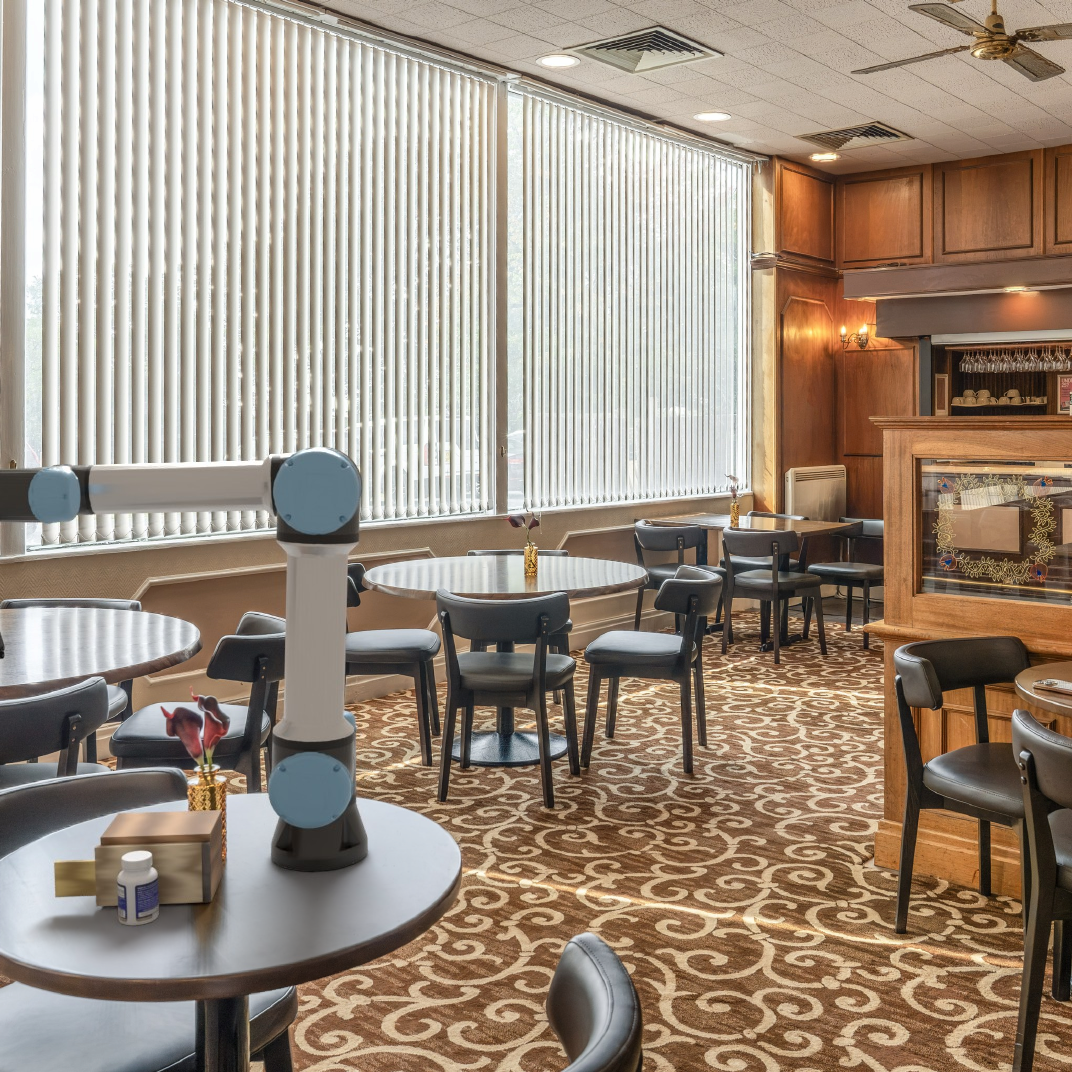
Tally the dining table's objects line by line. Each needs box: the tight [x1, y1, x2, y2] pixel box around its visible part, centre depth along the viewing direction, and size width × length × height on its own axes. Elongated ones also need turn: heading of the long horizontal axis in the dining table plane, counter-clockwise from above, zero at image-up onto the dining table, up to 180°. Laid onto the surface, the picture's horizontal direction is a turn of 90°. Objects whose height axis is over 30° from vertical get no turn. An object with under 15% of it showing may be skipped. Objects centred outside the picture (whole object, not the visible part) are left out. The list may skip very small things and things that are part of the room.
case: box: [99, 809, 224, 903], centre depth 164 cm, size 15×10×10 cm
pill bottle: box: [117, 851, 160, 927], centre depth 154 cm, size 5×5×9 cm
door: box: [53, 841, 212, 907], centre depth 158 cm, size 21×1×8 cm, turn 97°
